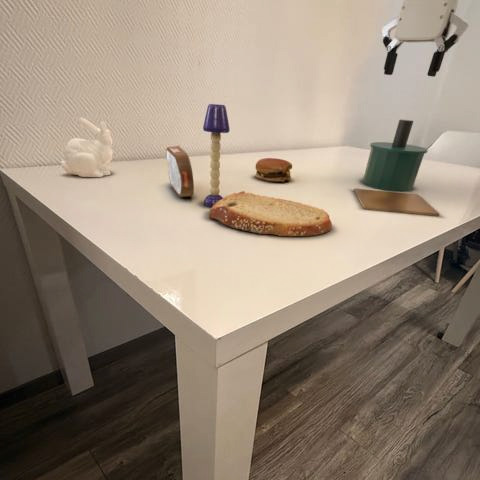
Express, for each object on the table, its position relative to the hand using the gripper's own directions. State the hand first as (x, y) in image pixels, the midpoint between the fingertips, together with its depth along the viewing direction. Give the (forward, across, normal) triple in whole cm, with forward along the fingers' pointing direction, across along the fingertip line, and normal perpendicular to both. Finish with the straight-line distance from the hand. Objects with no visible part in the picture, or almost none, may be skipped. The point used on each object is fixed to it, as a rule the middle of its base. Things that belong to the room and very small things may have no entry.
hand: (408, 75), depth 74 cm
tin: (+23, +23, +47) cm, 57 cm away
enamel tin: (+23, -2, -2) cm, 23 cm away
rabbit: (+23, +46, +54) cm, 75 cm away
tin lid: (+15, -2, -2) cm, 15 cm away
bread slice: (+23, -1, +46) cm, 51 cm away
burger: (+23, +20, +20) cm, 36 cm away
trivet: (+23, -10, +13) cm, 28 cm away
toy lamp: (+23, +12, +47) cm, 54 cm away
